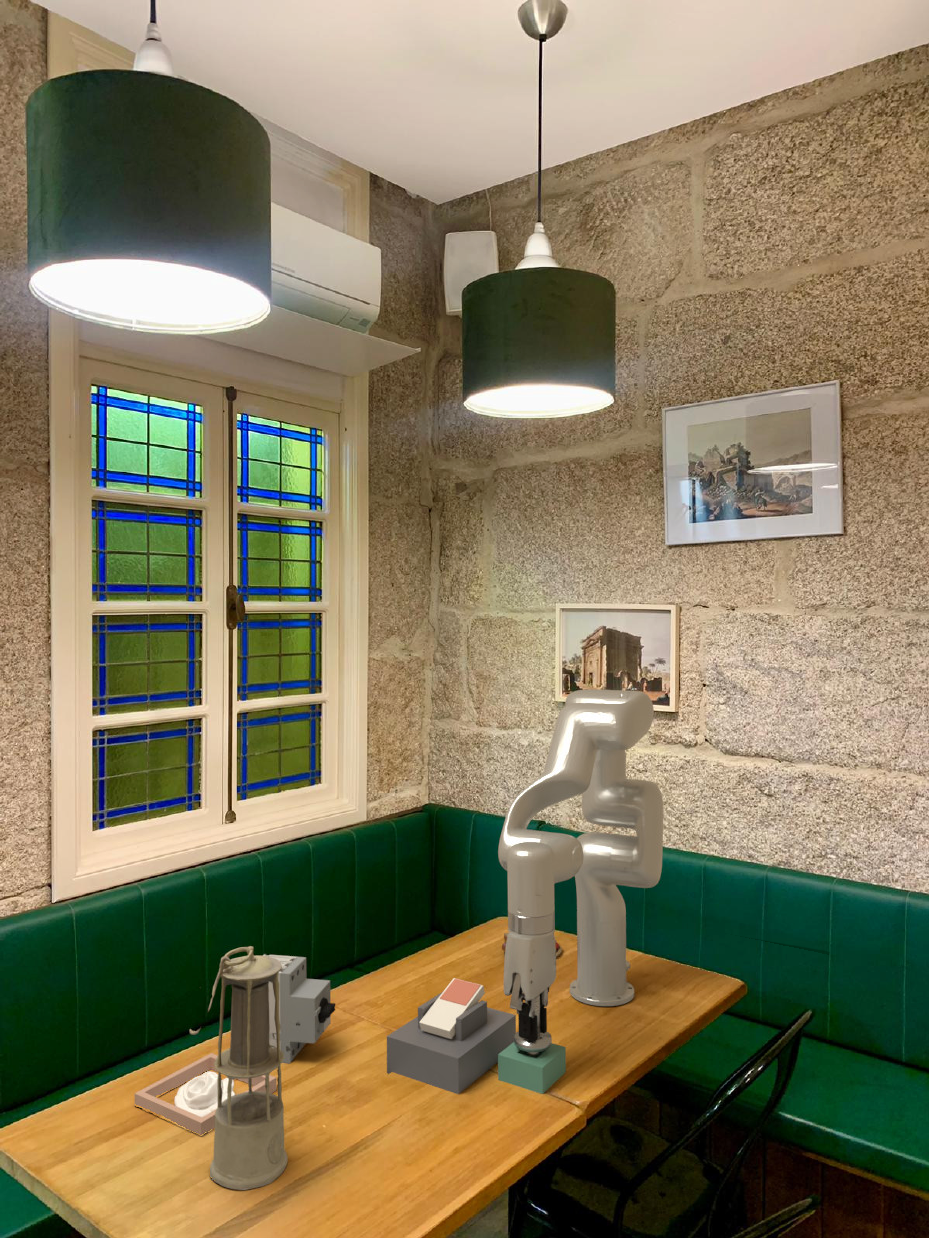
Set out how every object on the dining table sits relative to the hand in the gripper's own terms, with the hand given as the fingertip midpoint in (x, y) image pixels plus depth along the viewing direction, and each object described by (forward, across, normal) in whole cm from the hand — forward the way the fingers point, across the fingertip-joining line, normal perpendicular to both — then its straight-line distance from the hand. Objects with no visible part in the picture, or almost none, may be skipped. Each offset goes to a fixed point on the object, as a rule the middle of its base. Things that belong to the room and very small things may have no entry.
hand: (532, 1033), depth 144 cm
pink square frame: (+7, +32, -40) cm, 52 cm away
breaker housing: (+7, +2, -14) cm, 16 cm away
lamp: (+7, +42, -22) cm, 48 cm away
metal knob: (+5, 0, 0) cm, 5 cm away
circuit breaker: (+7, +14, -39) cm, 42 cm away
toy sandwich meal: (+8, -47, -26) cm, 54 cm away
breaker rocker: (-2, +2, -14) cm, 14 cm away
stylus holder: (+7, 0, 0) cm, 7 cm away
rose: (+7, +34, -39) cm, 52 cm away
